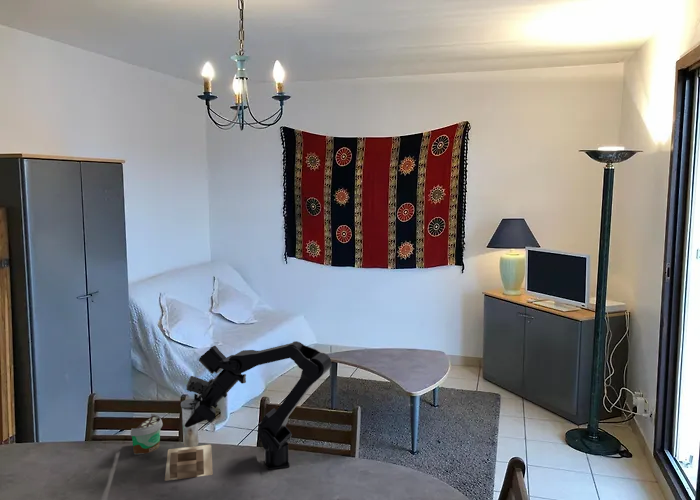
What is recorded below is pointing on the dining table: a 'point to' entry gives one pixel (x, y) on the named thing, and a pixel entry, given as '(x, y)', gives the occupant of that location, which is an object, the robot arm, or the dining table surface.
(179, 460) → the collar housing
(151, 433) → the food container
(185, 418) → the silver tapered cylinder
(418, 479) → the dining table surface
